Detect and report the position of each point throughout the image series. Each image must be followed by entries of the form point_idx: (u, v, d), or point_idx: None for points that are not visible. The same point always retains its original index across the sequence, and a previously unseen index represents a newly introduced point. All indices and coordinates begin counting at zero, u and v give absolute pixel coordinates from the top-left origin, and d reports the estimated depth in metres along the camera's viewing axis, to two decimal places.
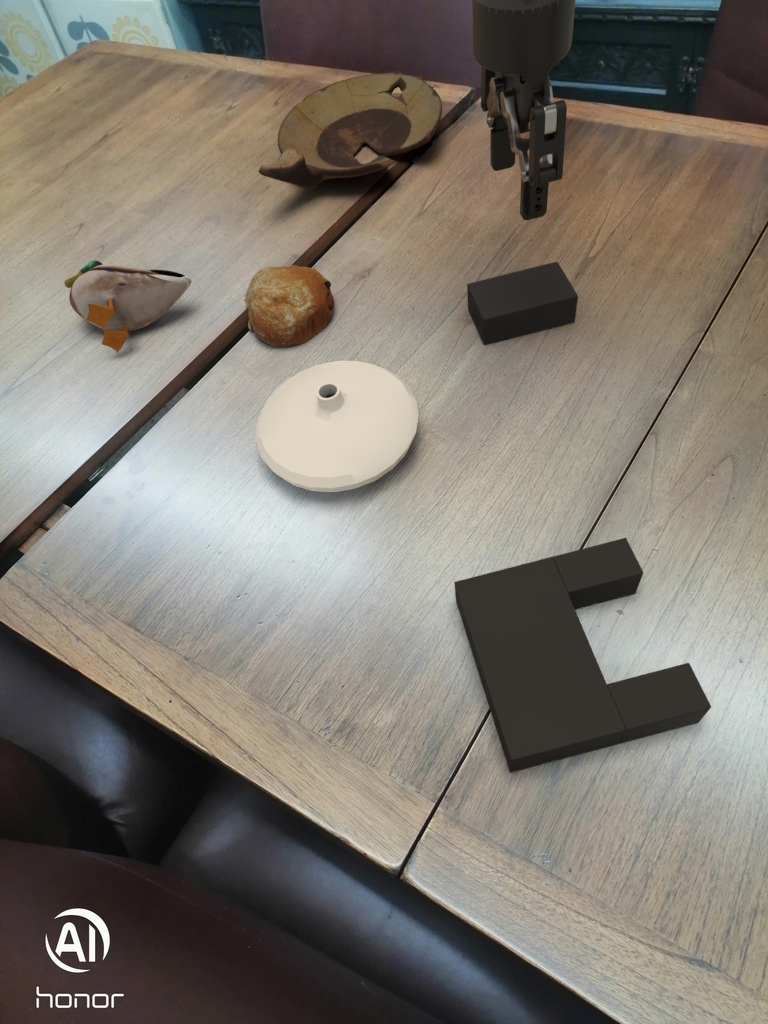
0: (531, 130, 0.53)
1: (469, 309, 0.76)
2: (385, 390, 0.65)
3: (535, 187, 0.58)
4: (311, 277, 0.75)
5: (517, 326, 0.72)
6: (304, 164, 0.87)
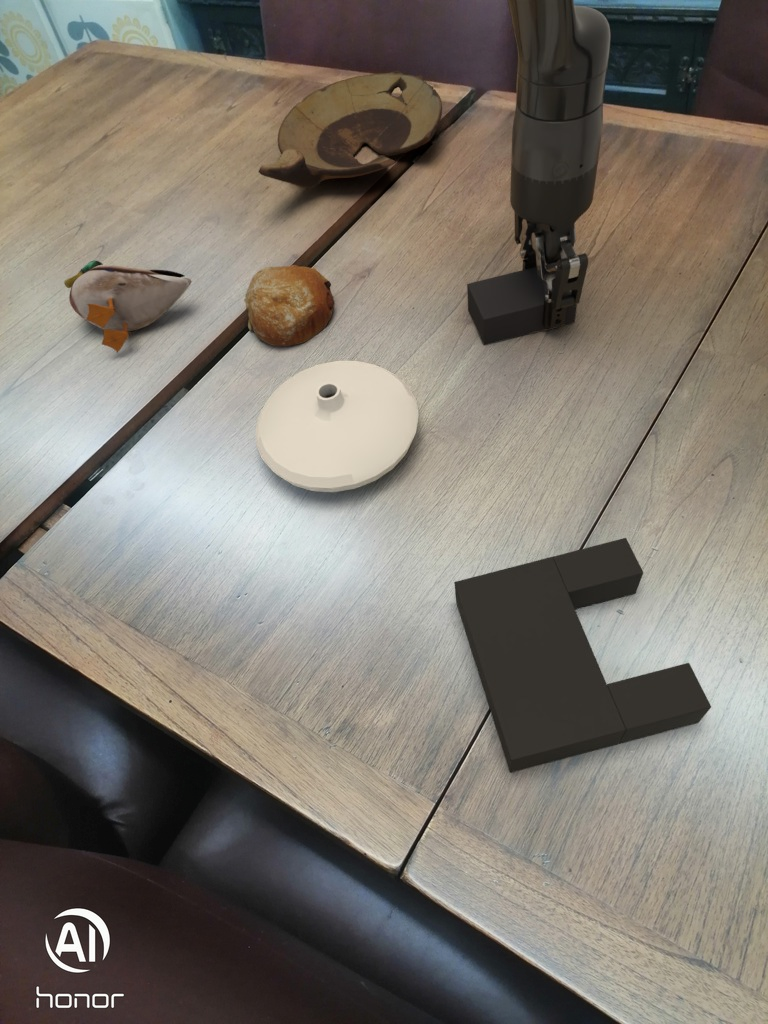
0: (557, 273, 0.64)
1: (469, 309, 0.76)
2: (385, 390, 0.65)
3: None
4: (311, 277, 0.75)
5: (517, 326, 0.72)
6: (304, 164, 0.87)
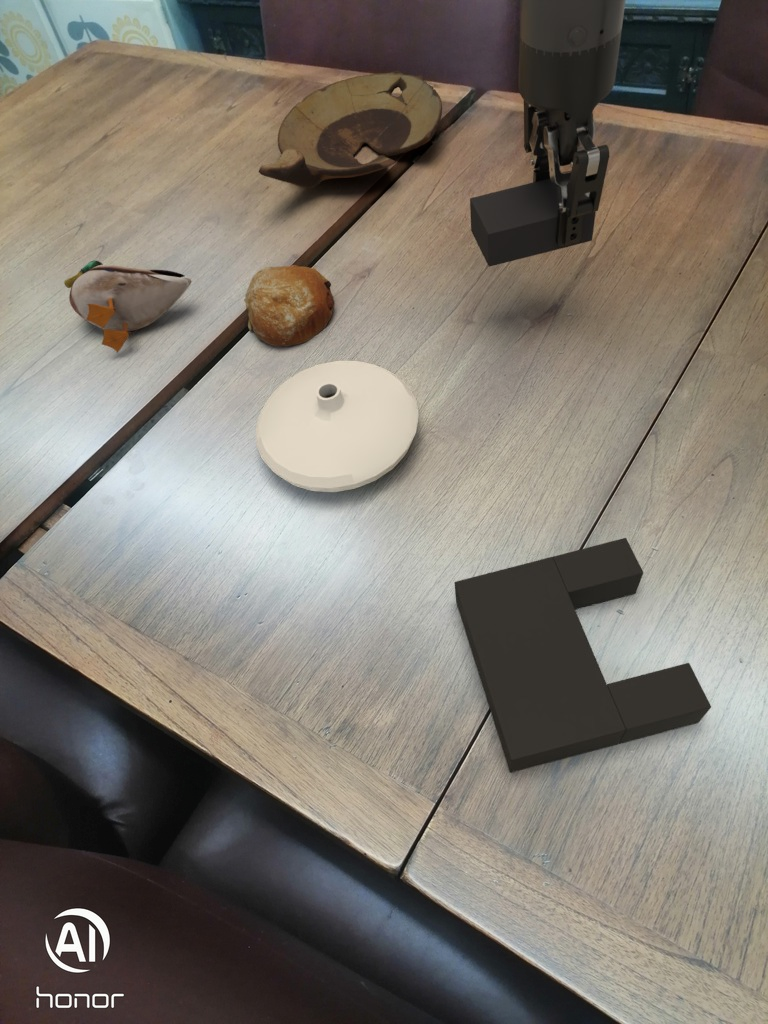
0: (573, 170, 0.55)
1: (472, 229, 0.67)
2: (385, 390, 0.65)
3: (571, 217, 0.60)
4: (311, 277, 0.75)
5: (526, 244, 0.63)
6: (304, 164, 0.87)
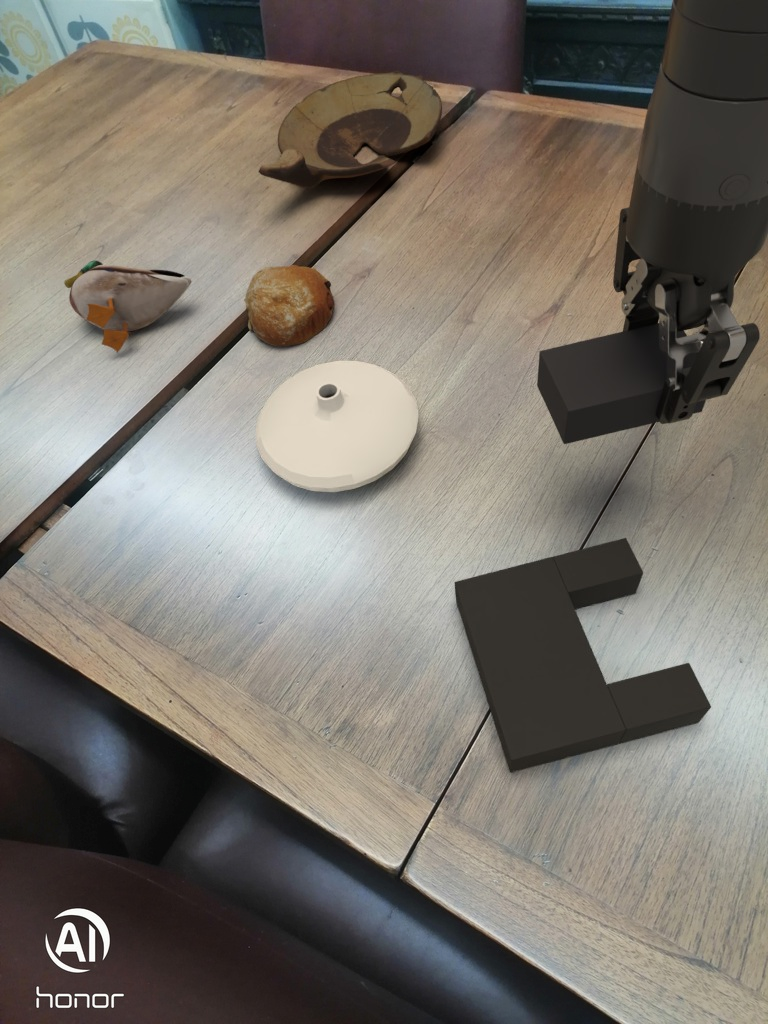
0: (703, 353, 0.39)
1: (540, 386, 0.51)
2: (385, 390, 0.65)
3: None
4: (311, 277, 0.75)
5: (617, 419, 0.47)
6: (304, 164, 0.87)
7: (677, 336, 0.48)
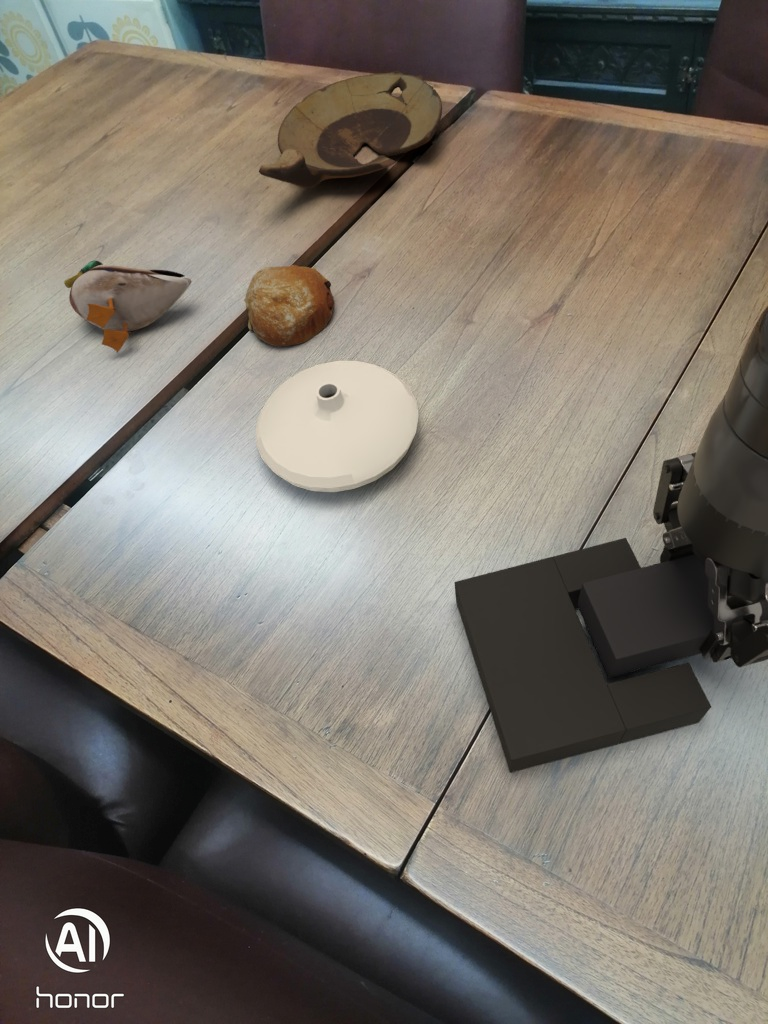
0: (757, 638, 0.40)
1: (581, 609, 0.51)
2: (385, 390, 0.65)
3: None
4: (311, 277, 0.75)
5: (662, 657, 0.48)
6: (304, 164, 0.87)
7: None
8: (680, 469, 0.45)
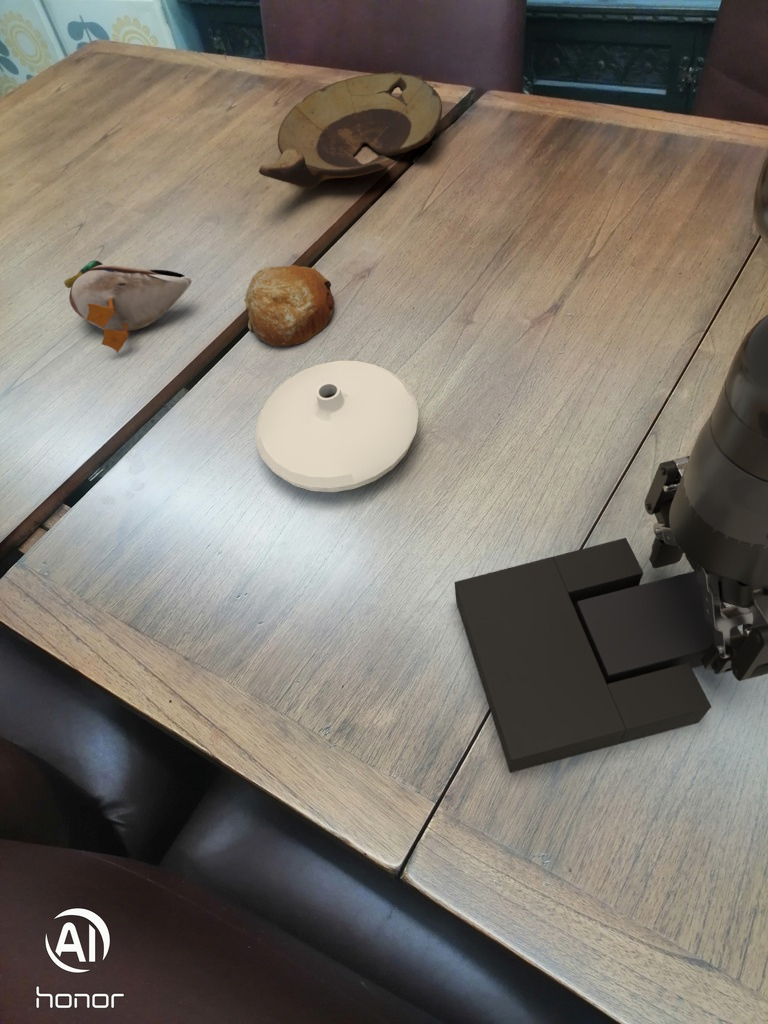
0: (750, 642, 0.41)
1: None
2: (385, 390, 0.65)
3: None
4: (311, 277, 0.75)
5: None
6: (304, 164, 0.87)
7: None
8: (676, 473, 0.46)
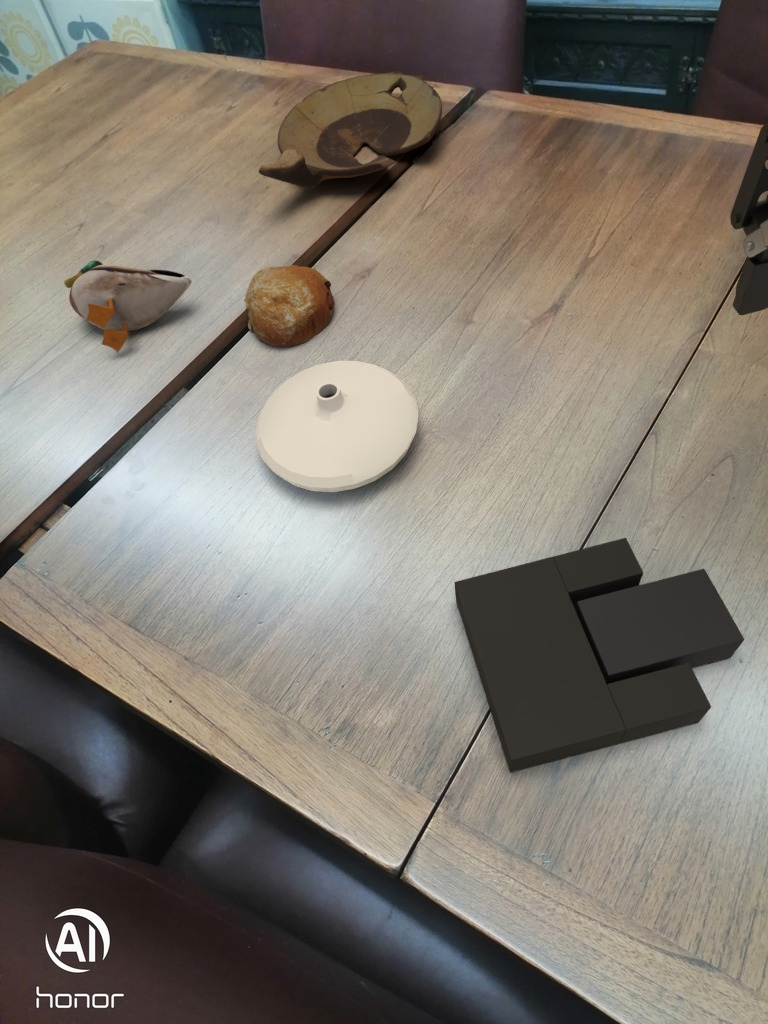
0: None
1: None
2: (385, 390, 0.65)
3: None
4: (311, 277, 0.75)
5: None
6: (304, 164, 0.87)
7: (706, 589, 0.51)
8: None
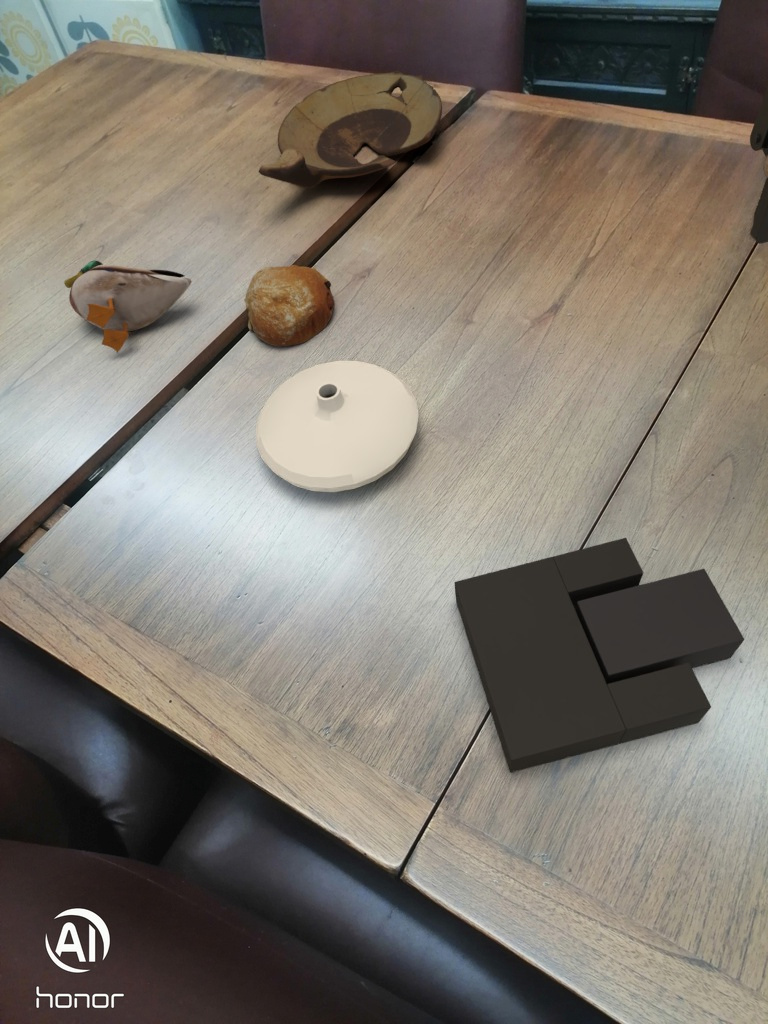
0: None
1: None
2: (385, 390, 0.65)
3: None
4: (311, 277, 0.75)
5: None
6: (304, 164, 0.87)
7: (706, 589, 0.51)
8: None
